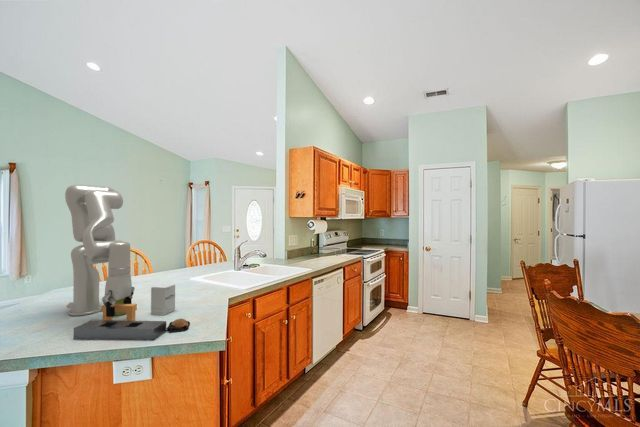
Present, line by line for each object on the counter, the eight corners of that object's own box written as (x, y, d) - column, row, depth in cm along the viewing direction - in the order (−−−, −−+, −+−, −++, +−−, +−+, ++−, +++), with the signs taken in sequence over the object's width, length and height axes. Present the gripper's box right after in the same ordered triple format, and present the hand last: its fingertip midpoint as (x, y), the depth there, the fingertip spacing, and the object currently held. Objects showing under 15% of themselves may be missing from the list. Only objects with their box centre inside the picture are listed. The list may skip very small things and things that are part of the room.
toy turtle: (167, 326, 120) (167, 317, 120) (190, 323, 123) (190, 314, 123) (165, 335, 110) (165, 325, 110) (189, 332, 113) (189, 322, 113)
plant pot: (111, 311, 136) (111, 293, 136) (134, 309, 140) (134, 291, 140) (105, 318, 128) (105, 298, 128) (130, 315, 131) (130, 296, 131)
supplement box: (164, 315, 131) (164, 287, 131) (150, 314, 132) (150, 286, 132) (175, 310, 138) (175, 284, 138) (162, 309, 140) (162, 283, 140)
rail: (73, 339, 106) (73, 328, 106) (91, 330, 114) (91, 320, 114) (153, 340, 105) (153, 329, 105) (166, 331, 113) (166, 321, 113)
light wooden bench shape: (101, 325, 119) (101, 305, 119) (106, 322, 122) (106, 303, 122) (132, 325, 119) (132, 306, 119) (136, 323, 122) (136, 304, 122)
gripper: (125, 267, 129) (125, 306, 129) (93, 275, 112) (93, 319, 112) (141, 267, 129) (141, 306, 129) (112, 275, 112) (112, 320, 112)
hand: (119, 312), depth 120 cm, fingers open, 9 cm apart
